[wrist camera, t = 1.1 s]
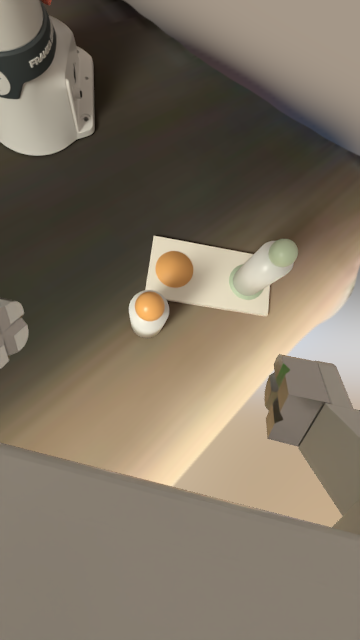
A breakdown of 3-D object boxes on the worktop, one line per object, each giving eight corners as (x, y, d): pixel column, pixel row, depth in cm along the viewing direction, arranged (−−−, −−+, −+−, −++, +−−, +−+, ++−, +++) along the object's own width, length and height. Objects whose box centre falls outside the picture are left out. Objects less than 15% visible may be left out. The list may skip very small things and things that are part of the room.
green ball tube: (234, 265, 46) (272, 224, 33) (262, 270, 47) (310, 232, 34) (231, 293, 45) (269, 262, 32) (259, 298, 46) (308, 270, 33)
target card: (153, 237, 46) (154, 235, 45) (269, 259, 48) (272, 257, 47) (144, 296, 44) (144, 295, 43) (265, 316, 46) (268, 315, 45)
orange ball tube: (133, 305, 44) (131, 278, 30) (164, 310, 44) (175, 285, 31) (128, 335, 43) (124, 321, 30) (160, 340, 43) (169, 328, 30)
